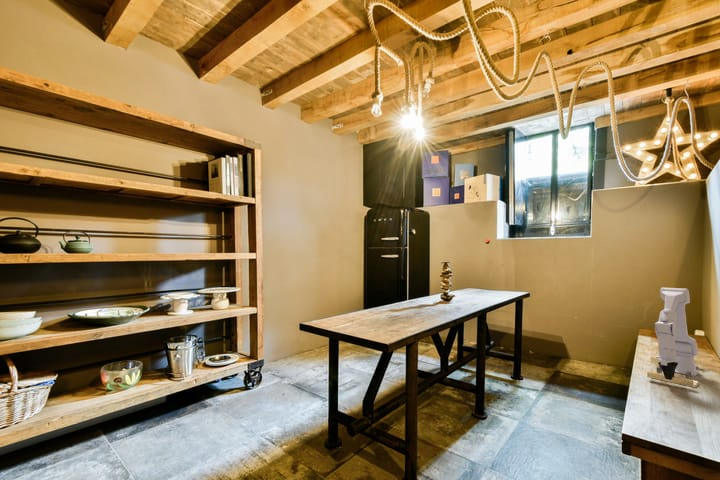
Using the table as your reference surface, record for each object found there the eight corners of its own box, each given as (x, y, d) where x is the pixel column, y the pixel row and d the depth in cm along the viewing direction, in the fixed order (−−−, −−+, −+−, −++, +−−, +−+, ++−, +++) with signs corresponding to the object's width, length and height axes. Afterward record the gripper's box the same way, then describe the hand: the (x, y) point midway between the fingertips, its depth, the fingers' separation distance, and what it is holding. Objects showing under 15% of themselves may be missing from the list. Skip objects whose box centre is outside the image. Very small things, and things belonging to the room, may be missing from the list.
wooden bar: (648, 376, 153) (648, 371, 153) (693, 385, 140) (693, 380, 141) (647, 377, 151) (647, 372, 151) (692, 386, 139) (691, 381, 139)
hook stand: (655, 375, 158) (654, 364, 159) (698, 384, 146) (697, 372, 147) (651, 377, 154) (650, 366, 155) (695, 387, 142) (694, 375, 143)
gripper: (659, 344, 154) (661, 373, 153) (650, 349, 146) (653, 379, 145) (679, 347, 149) (682, 377, 148) (672, 352, 140) (674, 384, 139)
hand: (669, 378), depth 146 cm, fingers closed on wooden bar, 2 cm apart
